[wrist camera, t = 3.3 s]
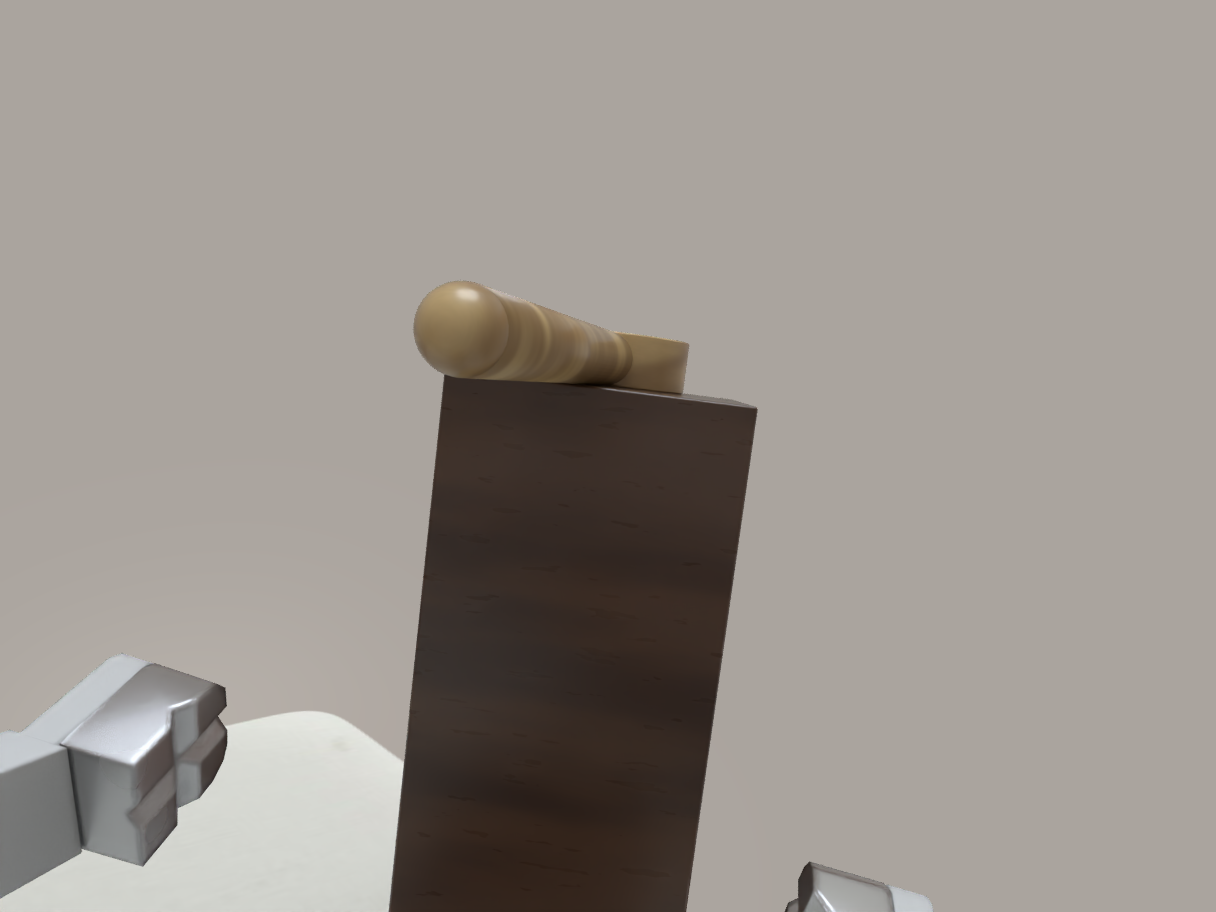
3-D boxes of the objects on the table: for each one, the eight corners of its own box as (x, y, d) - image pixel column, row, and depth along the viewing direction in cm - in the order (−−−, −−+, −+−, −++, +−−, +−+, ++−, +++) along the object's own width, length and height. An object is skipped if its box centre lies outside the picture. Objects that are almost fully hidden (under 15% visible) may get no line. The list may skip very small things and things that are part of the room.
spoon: (567, 394, 14) (580, 288, 14) (316, 360, 15) (324, 261, 15) (690, 394, 32) (696, 347, 31) (569, 378, 33) (575, 333, 32)
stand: (640, 1233, 26) (758, 407, 23) (360, 1182, 26) (444, 367, 24) (645, 1032, 34) (733, 399, 31) (430, 995, 34) (499, 370, 32)
